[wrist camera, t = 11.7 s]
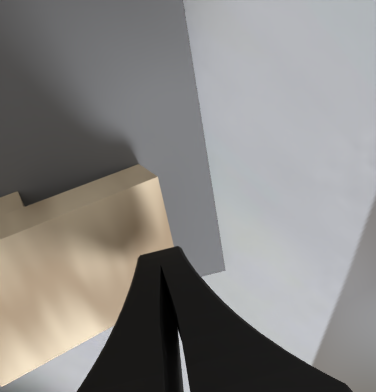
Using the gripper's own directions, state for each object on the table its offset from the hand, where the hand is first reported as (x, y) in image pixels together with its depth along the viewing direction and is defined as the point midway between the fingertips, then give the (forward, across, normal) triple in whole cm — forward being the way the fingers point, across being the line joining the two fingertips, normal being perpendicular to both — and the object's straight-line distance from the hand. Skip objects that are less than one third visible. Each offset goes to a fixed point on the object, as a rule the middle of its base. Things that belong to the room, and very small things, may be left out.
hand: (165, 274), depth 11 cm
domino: (+3, 0, 0) cm, 3 cm away
